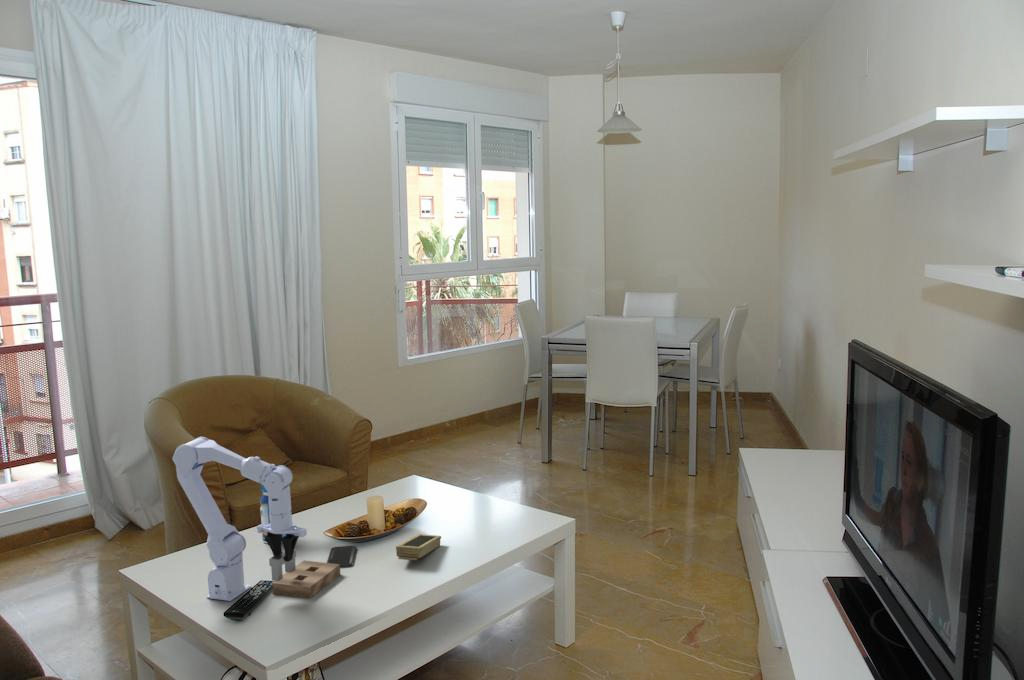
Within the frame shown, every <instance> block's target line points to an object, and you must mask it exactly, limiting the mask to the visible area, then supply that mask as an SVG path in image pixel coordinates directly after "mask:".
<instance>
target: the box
mask: <svg viewBox="0 0 1024 680" xmlns="http://www.w3.org/2000/svg"><path fill="white" fill-rule="evenodd" d="M441 539H442V536H441V535H437V534H436V535H435V534H423V533H420V534H419V533H418V534H416V535H414V536H412V537H410V538H409V539H407V540H405V541H403V542H401V543H399V544H398V545H396V546H395V551H396V557H398V558H397V559H398V560H404V561H405V560H406V561H407V560H408V561H418V560H419V559H421V558H422V557H424V556H426V555H428V554H429V553H430V552H432V551H433V550H435V549H436V548H438V547H440V546H441Z"/></svg>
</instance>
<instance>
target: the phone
mask: <svg viewBox="0 0 1024 680" xmlns="http://www.w3.org/2000/svg"><path fill="white" fill-rule="evenodd" d="M356 552H357V545H345V546H334V547H333V546H332V547H331V548H330V551H329V554H328V558H327V560H326V563H332V564H340V569H342V568H350V567H351V568H352V567H353V565H354V561H355V556H356Z"/></svg>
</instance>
